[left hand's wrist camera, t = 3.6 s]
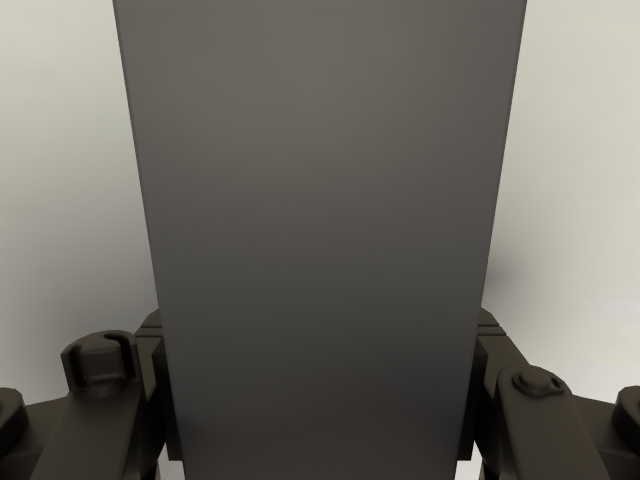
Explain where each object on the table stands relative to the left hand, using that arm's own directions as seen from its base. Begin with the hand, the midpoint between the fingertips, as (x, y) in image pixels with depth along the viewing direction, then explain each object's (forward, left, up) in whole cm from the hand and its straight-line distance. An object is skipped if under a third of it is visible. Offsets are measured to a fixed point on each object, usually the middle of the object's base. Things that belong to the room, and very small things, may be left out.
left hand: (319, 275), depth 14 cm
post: (+11, +18, -1) cm, 21 cm away
